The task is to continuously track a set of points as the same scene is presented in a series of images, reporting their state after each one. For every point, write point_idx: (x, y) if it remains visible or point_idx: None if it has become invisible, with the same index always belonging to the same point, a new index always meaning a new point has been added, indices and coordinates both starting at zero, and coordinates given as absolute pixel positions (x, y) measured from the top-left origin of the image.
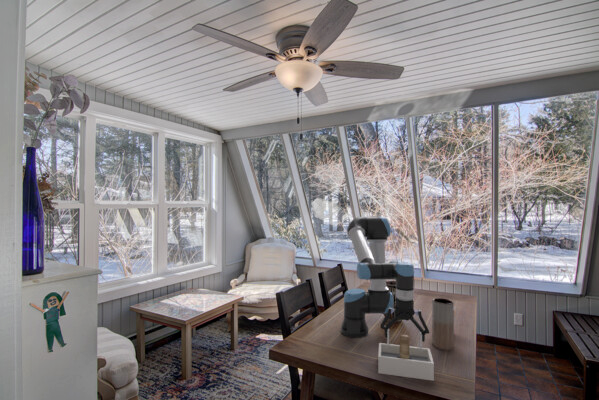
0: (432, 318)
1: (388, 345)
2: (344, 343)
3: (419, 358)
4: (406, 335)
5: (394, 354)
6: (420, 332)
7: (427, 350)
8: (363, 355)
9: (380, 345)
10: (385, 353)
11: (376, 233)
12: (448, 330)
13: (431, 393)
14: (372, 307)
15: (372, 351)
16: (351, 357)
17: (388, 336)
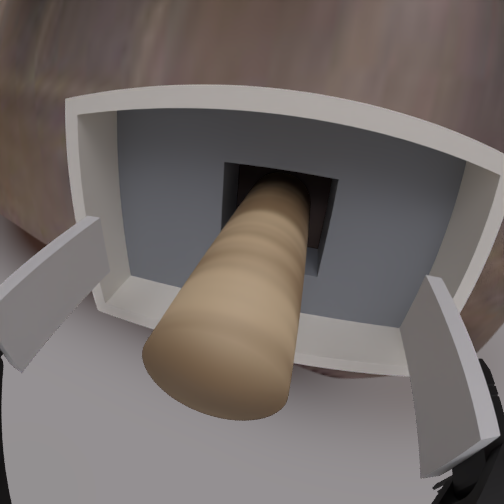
0: None
1: (104, 273)
2: (19, 23)
3: (403, 180)
4: (250, 364)
5: (205, 129)
6: (483, 442)
7: (494, 181)
8: (70, 95)
9: (74, 146)
10: (142, 130)
11: None
12: None
13: (343, 375)
14: None
15: (108, 27)
16: (37, 138)
17: (51, 328)
